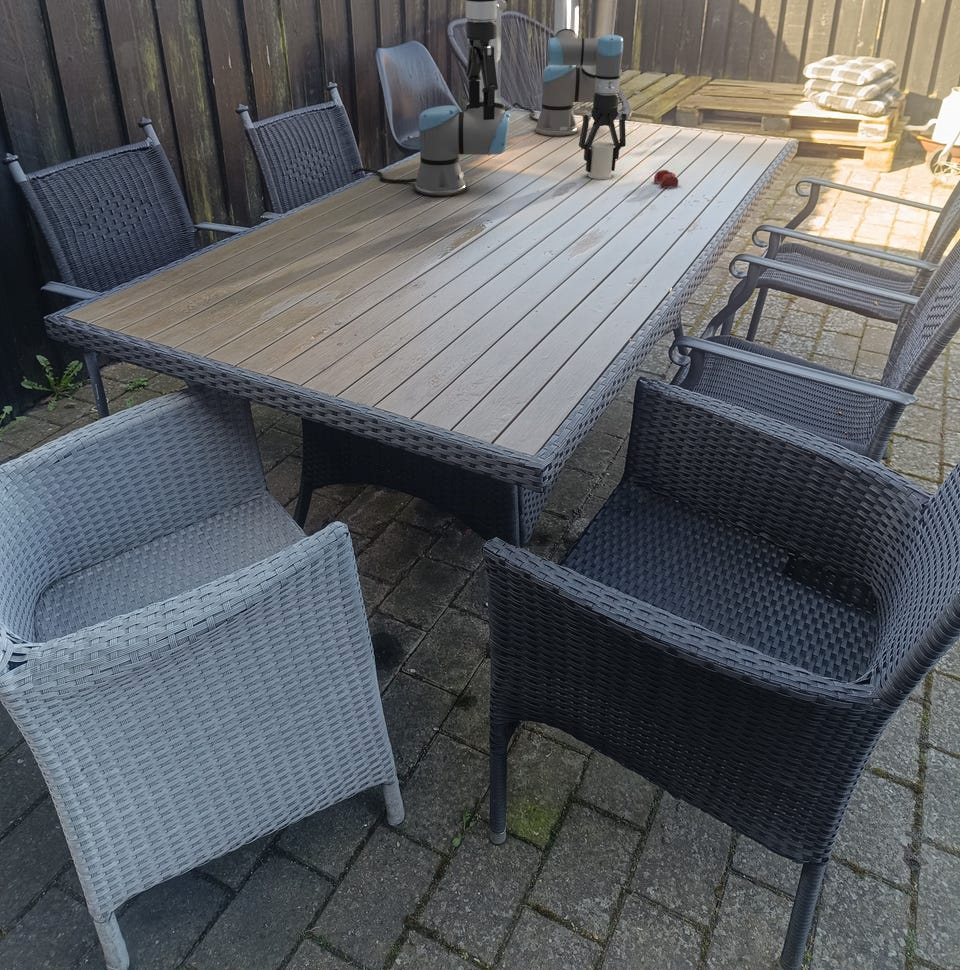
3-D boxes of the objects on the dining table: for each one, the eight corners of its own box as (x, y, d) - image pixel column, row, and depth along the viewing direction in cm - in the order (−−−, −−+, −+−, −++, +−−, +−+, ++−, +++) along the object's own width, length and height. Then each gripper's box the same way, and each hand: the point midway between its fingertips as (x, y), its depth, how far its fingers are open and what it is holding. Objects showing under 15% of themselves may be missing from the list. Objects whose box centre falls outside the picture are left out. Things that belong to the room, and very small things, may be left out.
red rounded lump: (669, 166, 264) (680, 173, 258) (668, 179, 266) (679, 187, 260) (653, 168, 263) (663, 175, 257) (652, 181, 265) (662, 189, 259)
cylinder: (595, 180, 267) (597, 148, 261) (584, 174, 272) (586, 142, 266) (615, 177, 269) (618, 146, 263) (604, 172, 274) (606, 140, 269)
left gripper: (511, 26, 196) (509, 123, 208) (482, 13, 215) (482, 102, 228) (480, 27, 194) (480, 125, 207) (453, 14, 214) (455, 104, 226)
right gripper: (577, 96, 252) (572, 175, 265) (642, 94, 254) (634, 172, 268) (571, 91, 258) (566, 168, 271) (634, 89, 260) (626, 165, 274)
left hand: (481, 113), depth 217 cm, fingers open, 13 cm apart
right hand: (600, 170), depth 269 cm, fingers closed on cylinder, 7 cm apart
